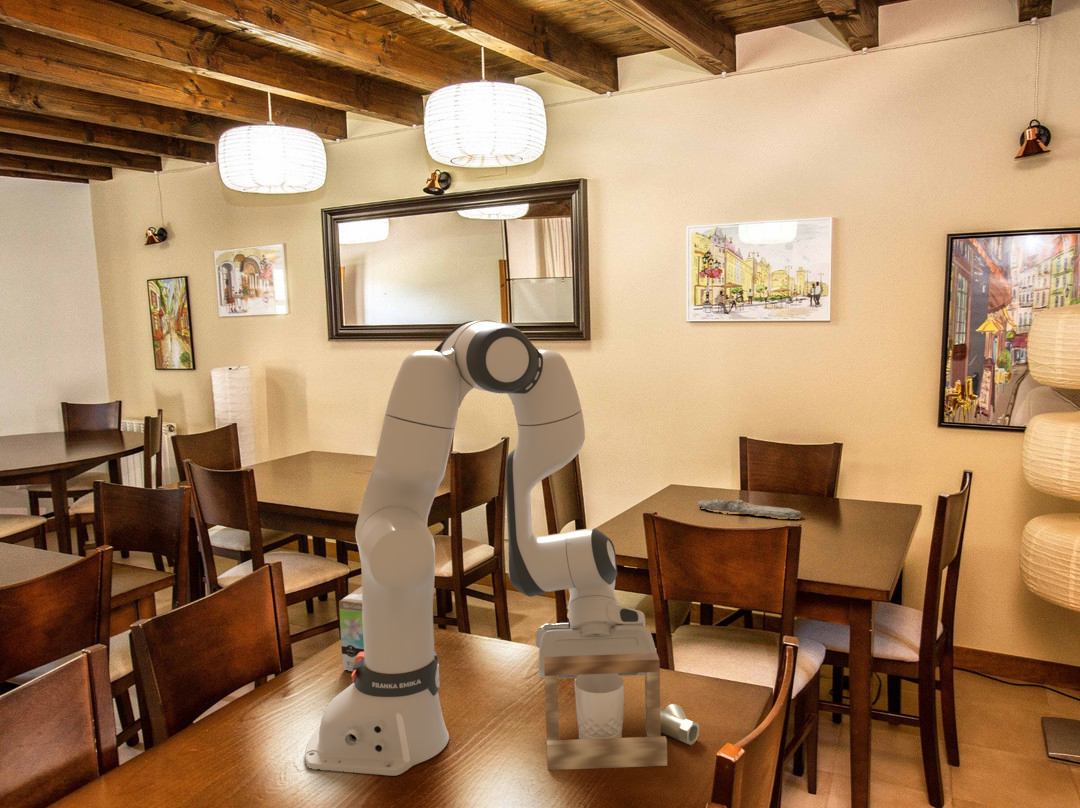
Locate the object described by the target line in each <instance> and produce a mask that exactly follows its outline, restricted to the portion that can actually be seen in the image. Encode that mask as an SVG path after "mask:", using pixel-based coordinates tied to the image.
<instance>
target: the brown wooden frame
mask: <svg viewBox="0 0 1080 808" xmlns="http://www.w3.org/2000/svg"><path fill="white" fill-rule="evenodd" d="M660 665H661V664H660V657H659V655H658V653H657V652H656V653H645V654H616V655H587V656H559V657H544V671H545V679H544V694H545V695H544V698H545V725H546V726H545V727H546V729H545V730H546V756H547V759H546V760H547V770H548V771H556V770H558V771H559V770H582V769H583V770H585V769H586V770H587V769H610V768H611V769H613V768H617V769H618V768H636V767H637V768H639V767H640V768H641V767H643V768H644V767H665V766H666V767H667V766H668V739H667V735H666V736H664V735H663V736H662V733H661V723H660V709H661V680H660V679H661V677H660V676H661V675H660V673H661V671H660V670H661V669H660V668H661V667H660ZM641 672H645V675H644V694H645V695H644V697H645V698H644V701H645V704H644V705H645V708H644V709H645V720H646V723H645V736H636V737H635V736H633V737H622V738H604V739H579V738H577V739H560V717H559V716H560V715H559V684H558V683H559V682H558V679H559V678H558V677H557V675H585V674H613V673H641Z"/></svg>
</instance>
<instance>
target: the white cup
mask: <svg viewBox="0 0 1080 808" xmlns="http://www.w3.org/2000/svg"><path fill="white" fill-rule="evenodd" d="M574 696H575V709H576V711H575V712H576V720H577V721H576V722H577V727H578V737H579V738H578V739H604V738H623V723H624V708H625V706H624V702H625V699H624V698H625V680H624V678H623V676H620V675H618V674H616V673H613V674H585V675H578V676H577V677H576V678H574Z"/></svg>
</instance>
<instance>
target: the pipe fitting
mask: <svg viewBox="0 0 1080 808" xmlns="http://www.w3.org/2000/svg"><path fill="white" fill-rule="evenodd" d="M644 720H645V724H646V719H644ZM660 723H661V734H664V735H666V736H668V737H670V738H674V739H675V740H678V741H679V742H683V743H685V744H687V745H689V746H693V745H694V744H695V743H696V742H697V740H698V738H699V734H700V725H699V723H697V722H695V721H693V720H690V719H688V717H687V716H686V713H685V712H684V709H683V708H682V707H681V706H680V705H679V704H677V703H670V704H669V705H667V706H666V707H665V708H664V709H661V708H660ZM694 742H695V743H694ZM693 743H694V744H693ZM692 744H693V745H692Z"/></svg>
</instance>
